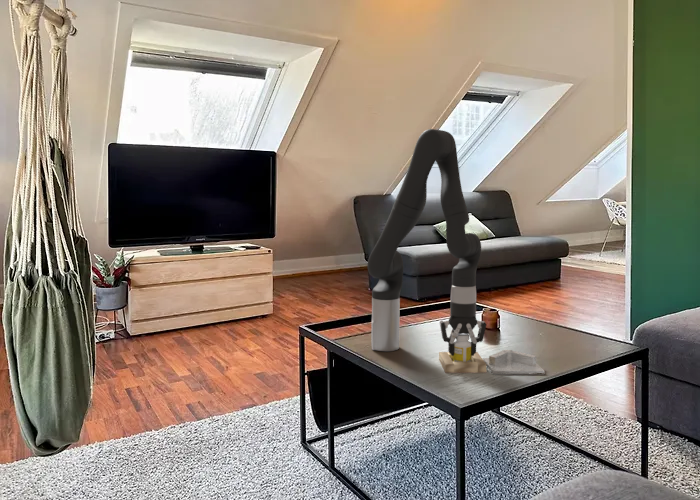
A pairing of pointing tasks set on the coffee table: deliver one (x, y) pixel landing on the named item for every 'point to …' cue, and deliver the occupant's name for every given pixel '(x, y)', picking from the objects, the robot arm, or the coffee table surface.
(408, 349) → the coffee table surface
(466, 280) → the robot arm
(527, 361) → the v block
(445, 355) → the square frame block
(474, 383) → the coffee table surface
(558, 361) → the coffee table surface
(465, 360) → the supplement bottle
